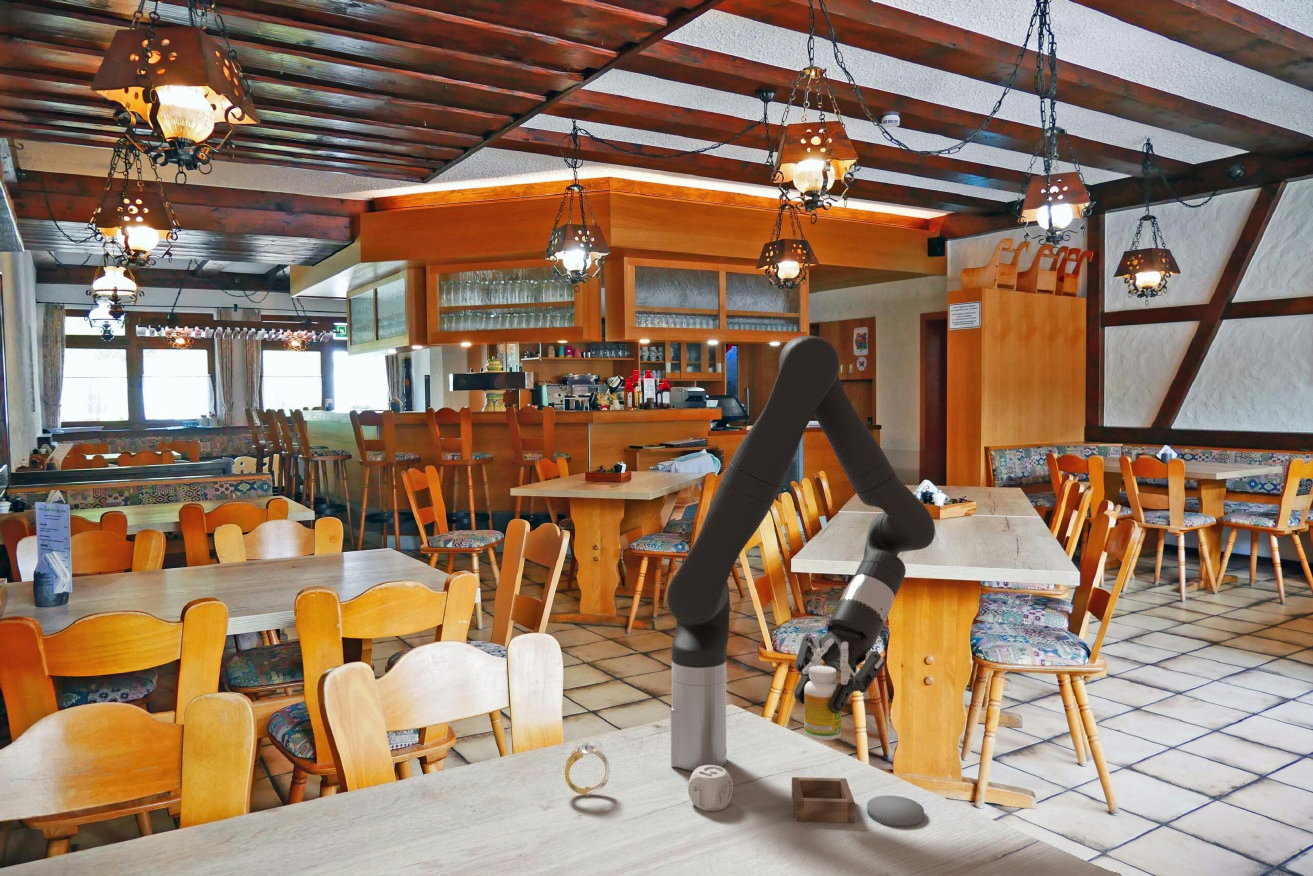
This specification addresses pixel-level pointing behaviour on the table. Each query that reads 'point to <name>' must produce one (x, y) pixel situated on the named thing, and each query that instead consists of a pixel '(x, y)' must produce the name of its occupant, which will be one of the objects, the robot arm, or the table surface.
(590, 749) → the ring
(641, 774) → the table surface
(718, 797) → the die
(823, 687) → the supplement bottle
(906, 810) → the rubber coaster
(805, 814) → the walnut collar
